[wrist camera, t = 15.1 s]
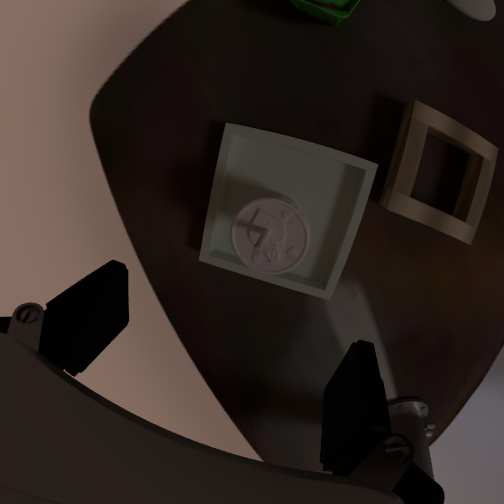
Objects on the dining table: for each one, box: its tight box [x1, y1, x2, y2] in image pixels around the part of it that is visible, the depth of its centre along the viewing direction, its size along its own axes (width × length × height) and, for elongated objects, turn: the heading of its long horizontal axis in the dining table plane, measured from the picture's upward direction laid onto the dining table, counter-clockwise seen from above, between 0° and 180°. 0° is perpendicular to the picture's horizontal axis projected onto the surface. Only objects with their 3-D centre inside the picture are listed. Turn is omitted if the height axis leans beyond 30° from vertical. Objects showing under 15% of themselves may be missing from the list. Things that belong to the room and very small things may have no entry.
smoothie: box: [230, 195, 311, 275], centre depth 23 cm, size 6×6×14 cm
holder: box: [379, 100, 498, 245], centre depth 23 cm, size 12×12×4 cm
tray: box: [199, 123, 378, 300], centre depth 29 cm, size 16×16×2 cm
